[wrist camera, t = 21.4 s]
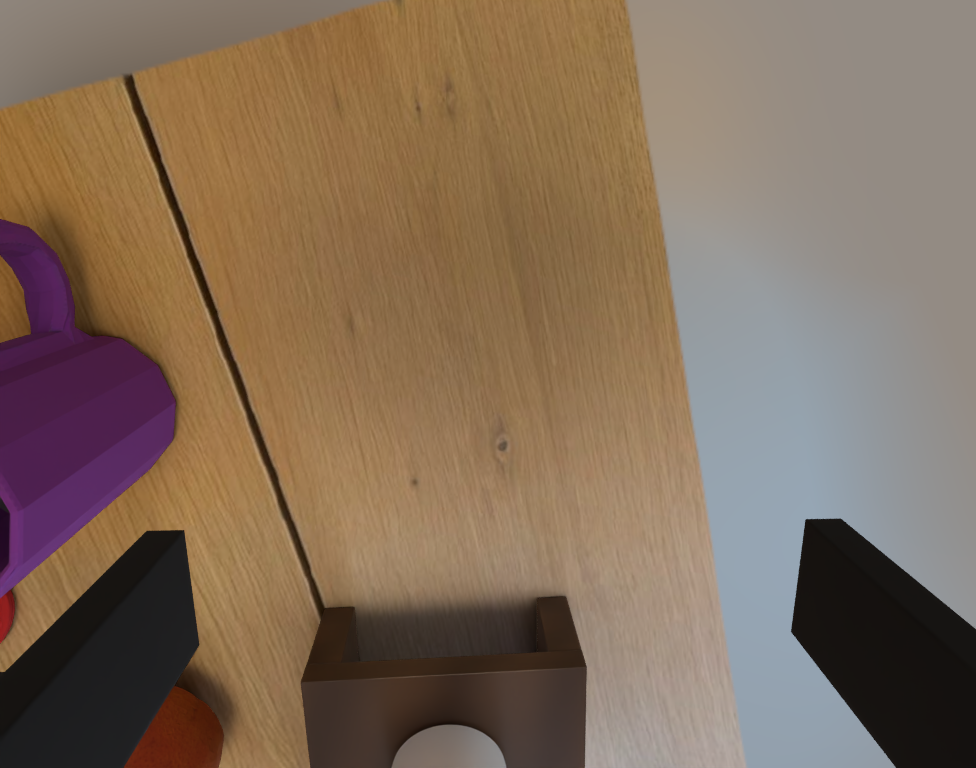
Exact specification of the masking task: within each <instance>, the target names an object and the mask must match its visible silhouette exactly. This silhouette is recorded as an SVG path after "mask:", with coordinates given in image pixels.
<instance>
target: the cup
mask: <svg viewBox="0 0 976 768" xmlns="http://www.w3.org/2000/svg"><path fill="white" fill-rule="evenodd" d="M392 768H506V764H505V760H504V757H503V754H502V752H501V750H500V749H499V747H498V746H497V744H496V743H495V742H494V741H493V740H492V739H491V738H490V737H488V736H487V735H485V734H484V733H482V732H480V731H478V730H476V729H473V728H470V727H467V726H462V725H439V726H434V727H431V728H428V729H425V730H423V731H420V732H418V733H417V734H415V735H413V736H412V737H411V738H409V739H408V740H407V741H406V742H405V743H404V744H403V745H402V746H401V748H400V749H399V750H398V752H397V754H396V756H395V758H394V761H393V764H392Z"/></svg>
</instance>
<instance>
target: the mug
mask: <svg viewBox="0 0 976 768" xmlns="http://www.w3.org/2000/svg"><path fill="white" fill-rule="evenodd" d="M0 255H1V257H2V258H3V259H4V260H5V261H6V262H7V263H8V265H9V266H10V267H11V268H12V269H13V271H14V273H15V275H16V277H17V278H18V280H19V282H20V284H21V286H22V288H23V289H24V296H25V303H26V310H27V314H28V317H29V321H30V326H31V334H30V335H26V336H23V337H19V338H16V339H12V340H9V341H5V342H2V343H0V598H1V597H2V596H4V595H5V594H6V593H7V592H8V591H9V590H11V589H12V588H13V587H14V586H15V585H16V584H18V583H19V582H20V581H21V580H22V579H23V578H24V577H26V576H27V575H28V574H29V573H30V572H31V571H33V570H34V569H35V568H36V567H37V566H38V565H40V564H41V563H42V562H43V561H44V560H45V559H46V558H48V557H49V556H50V555H51V554H52V553H53V552H55V551H56V550H57V549H58V548H59V547H60V546H62V545H63V544H64V543H65V542H66V541H67V540H68V539H70V538H71V537H72V536H73V535H74V534H75V533H77V532H78V531H79V530H80V529H81V528H82V527H84V526H85V525H86V524H87V523H88V522H89V521H90V520H92V519H93V518H94V517H95V516H96V515H97V514H99V513H100V512H101V511H102V510H103V509H104V508H106V507H107V506H108V505H109V504H110V503H111V502H112V501H114V500H115V499H116V498H117V497H118V496H119V495H121V494H122V493H123V492H124V491H125V490H126V489H127V488H129V487H130V486H131V485H132V484H133V483H134V482H136V481H137V480H138V479H139V478H140V477H141V476H143V475H144V474H145V473H146V472H147V471H148V470H149V469H150V468H151V467H152V466H153V465H154V463H155V462H156V461H157V460H158V458H159V457H160V456H161V454H162V453H163V452H164V451H165V449H166V448H167V447H168V446H169V444H170V443H171V442H172V440H173V436H174V421H175V407H176V400H175V398H174V396H173V394H172V392H171V390H170V388H169V386H168V385H167V383H166V381H165V379H164V377H163V375H162V373H161V371H160V369H159V367H158V365H157V364H156V363H154V362H153V361H152V360H150V359H149V358H148V357H146V356H145V355H143V354H142V353H141V352H139V351H138V350H137V349H135V348H134V347H133V346H131V345H130V344H129V343H127V342H126V341H125V340H123V339H121V338H114V337H107V336H94V337H91V336H89V335H88V334H86V333H84V332H83V331H81V330H79V329H78V328H76V327H75V305H74V301H73V296H72V291H71V287H70V282H69V279H68V277H67V274H66V272H65V270H64V268H63V266H62V264H61V262H60V259H59V257H58V255H57V254H56V253H55V252H54V251H53V250H52V249H51V248H50V247H49V246H48V245H47V244H46V243H45V242H44V241H43V240H42V239H41V238H40V237H39V236H38V235H37V234H36V233H35V232H34V231H33V230H32V229H30V228H29V227H27V226H23V225H20V224H16V223H13V222H9V221H6V220H2V219H0Z"/></svg>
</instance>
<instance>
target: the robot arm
mask: <svg viewBox="0 0 976 768" xmlns="http://www.w3.org/2000/svg"><path fill="white" fill-rule="evenodd" d="M791 632H792V634H793V635H794V636H795V637H796V639H797V640H798V641H799V642H800V644H801V645H802V646H803V648H804V649H805V650H806V652H807V653H808V654H809V655H810V657H811V658H812V659H813V661H814V662H815V663H816V664H817V666H818V667H819V668H820V670H821V671H822V672H823V674H824V675H825V676H826V677H827V679H828V680H829V681H830V683H831V684H832V685H833V687H834V688H835V689H836V690H837V692H838V693H839V694H840V696H841V697H842V698H843V699H844V700H845V702H846V703H847V705H848V706H849V707H850V709H851V710H852V711H853V712H854V714H855V715H856V716H857V718H858V719H859V720H860V722H861V723H862V724H863V725H864V727H865V728H866V729H867V731H868V732H869V733H870V734H871V736H872V737H873V738H874V740H875V741H876V742H877V744H878V745H879V746H880V747H881V749H882V750H883V751H884V753H886V755H887V756H888V758H889V759H890V760H891V762H892V763H893V764H894V766H895V767H896V768H976V629H975V628H974V627H972V626H971V625H970V624H969V623H968V622H966V621H965V620H964V619H963V618H961V617H960V616H959V615H958V614H956V613H955V612H954V611H953V610H952V609H950V608H949V607H948V606H947V605H946V604H944V603H943V602H942V601H941V600H939V599H938V598H937V597H936V596H934V595H933V594H932V593H931V592H930V591H928V590H927V589H926V588H925V587H923V586H922V585H921V584H920V583H919V582H917V581H916V580H915V579H914V578H913V577H911V576H910V575H909V574H908V573H907V572H905V571H904V570H903V569H901V568H900V567H899V566H898V565H897V564H895V563H894V562H893V561H892V560H891V559H889V558H888V557H887V556H885V554H883V553H882V552H881V551H879V550H878V549H877V548H876V547H875V546H874V545H872V544H871V543H870V542H869V541H867V540H866V539H865V538H864V537H863V536H861V535H860V534H859V533H858V532H857V531H855V530H854V529H853V528H852V527H850V526H849V525H848V524H847V523H846V522H844V521H843V520H842V519H806V521H805V528H804V536H803V544H802V552H801V559H800V567H799V575H798V583H797V591H796V598H795V606H794V613H793V621H792V629H791ZM198 646H199V639H198V632H197V624H196V617H195V609H194V601H193V594H192V586H191V579H190V571H189V564H188V556H187V549H186V541H185V533H184V530H170V531H146V532H145V533H144V534H143V535H142V536H141V537H140V538H139V539H138V540H137V541H136V542H135V543H134V544H133V545H132V546H131V547H130V548H129V549H128V550H127V551H126V552H125V553H124V554H123V555H122V556H121V557H120V558H119V559H118V560H117V561H116V562H115V563H114V564H113V565H112V566H111V567H110V568H109V569H108V570H107V571H106V572H105V573H104V574H103V575H102V576H101V577H100V578H99V579H98V580H97V581H96V582H95V583H94V584H93V585H92V586H91V587H90V588H89V589H88V590H87V591H86V592H85V593H84V594H83V595H82V596H81V597H80V598H79V599H78V600H77V601H76V602H75V603H74V604H73V605H72V606H71V607H70V608H69V609H68V610H67V611H66V612H65V613H64V614H63V615H62V616H61V617H60V618H59V619H58V620H57V621H56V622H55V623H54V624H53V625H52V626H51V627H50V628H49V629H48V630H47V631H46V632H45V633H44V634H43V635H42V636H41V637H40V638H39V639H38V640H37V641H36V642H35V643H34V644H33V645H32V646H31V647H30V648H29V649H28V650H27V651H26V652H25V653H24V654H23V655H22V656H21V657H20V658H19V659H18V660H17V661H16V662H15V663H14V664H13V665H12V666H11V667H10V668H8V669H7V670H6V671H5V672H0V768H124V766H125V764H126V763H127V761H128V760H129V758H130V756H131V755H132V753H133V752H134V750H135V748H136V747H137V745H138V743H139V742H140V740H141V739H142V737H143V735H144V734H145V732H146V730H147V729H148V727H149V726H150V724H151V722H152V721H153V719H154V718H155V716H156V714H157V713H158V711H159V709H160V708H161V706H162V705H163V703H164V701H165V700H166V698H167V697H168V695H169V693H170V692H171V690H172V688H173V687H174V685H175V684H176V682H177V680H178V679H179V677H180V676H181V674H182V672H183V671H184V669H185V667H186V666H187V664H188V663H189V661H190V659H191V658H192V656H193V654H194V653H195V651H196V650H197V648H198Z"/></svg>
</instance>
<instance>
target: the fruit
mask: <svg viewBox="0 0 976 768" xmlns="http://www.w3.org/2000/svg"><path fill="white" fill-rule="evenodd" d="M223 741H224V734H223V729H222V726H221V724H220V722H219V720H218V718H217V716H216V715H215V713H214V712H213V711H212V709H211V708H210V707H209V706H208V705H207V704H206V703H205V702H203V701H202V700H199V699H197V698H196V697H195V696H194V695H193V694H191V693H190V692H188V691H186V690H184V689H182V688H179V687H176V686H174V687H173V688H172V690H171V692H170V693H169V695H168V697H167V698H166V700H165V701H164V703H163V705H162V706H161V708H160V709H159V711H158V713H157V714H156V716H155V718H154V719H153V721H152V722H151V724H150V726H149V727H148V729H147V730H146V732H145V734H144V735H143V737H142V739H141V740H140V742H139V743H138V745H137V747H136V748H135V750H134V752H133V753H132V755H131V756H130V758H129V760H128V761H127V763H126V764H125V766H124V768H218V767H219V764H220V760H221V755H222V747H223Z"/></svg>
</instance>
